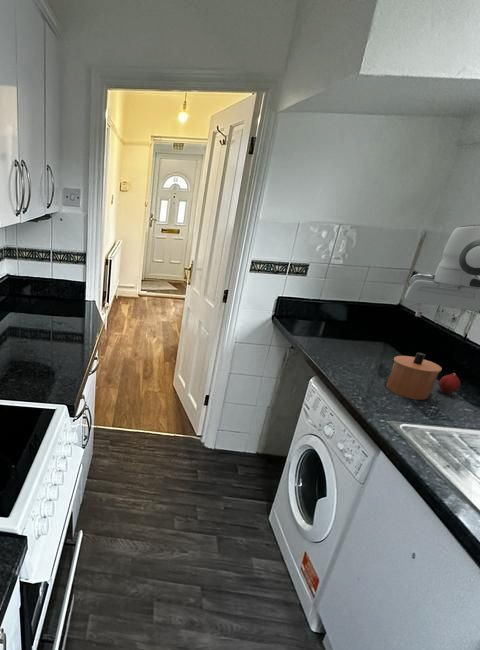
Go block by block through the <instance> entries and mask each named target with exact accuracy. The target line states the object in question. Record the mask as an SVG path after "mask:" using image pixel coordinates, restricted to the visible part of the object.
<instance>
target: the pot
mask: <svg viewBox="0 0 480 650" xmlns="http://www.w3.org/2000/svg"><path fill="white" fill-rule="evenodd" d="M439 374H440V372H437V373H428V372H421V371H416V370H412V369H409V368H406V367H403V366H401V365H399V364H397V363H396V362H395V361H394V362H393V365H392V368H391V371H390V373H389V375H388V379H387V381H386V385H385V387H386V389H388V390H389V391H390V392H392V393H394V394H395V395H398V396H401V397H404V398H406V399H411V400H418V401H419V400H421V401H422V400H427V399H428V398H429V397H430V395H431V392H432V389H433V388H434V385H435V382H436V380H437V378H438V375H439Z"/></svg>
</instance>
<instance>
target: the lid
mask: <svg viewBox="0 0 480 650" xmlns="http://www.w3.org/2000/svg"><path fill="white" fill-rule="evenodd" d="M425 357H426V354H425V353H423V352H416V354H415V356H409V355H397V356H395V357H393V361H394V362H396V363H397V364H399V365H401V366H403V367H406V368H409V369H412V370H416V371H421V372H428V373H437V372H439V373H441V371H442V369H443V368H442V366H440V365H439V364H437V363H436V362H433V361H430V360H427V359H425Z"/></svg>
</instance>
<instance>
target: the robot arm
mask: <svg viewBox="0 0 480 650" xmlns="http://www.w3.org/2000/svg"><path fill="white" fill-rule="evenodd" d="M443 249H444V250H443V252H442V258H441V260H440V262H439V263H438V265H437V268H436V270H435V273H434V274H423V273H417V274H414V275H412V276H411V277H410V278H409V281H408V285H409V286H408V288H407V290H406V293H405V294H404V299H405V301H406V302H409V303H414V306H415V307H414V308H415V309H416V312H415V314H414V315H415V317H418V318H421V317H422V314H423V310H420V308H419V307H421V306H422V304H423V305H429V306H437V307H443V308H450V309H456V310H458V313H456V314H455V315H450V319H449V322H450V323H457V321H458V319H459V318H461V317H462V316H464V315H465V313H466V311H469V312H480V277H479V276H480V224H465V225H460V226H458V227H456V228H455V229H454V230H453V231H452V232H451V235H450V236H449V238H448V240H447V242H446V244H445V246H444V248H443Z"/></svg>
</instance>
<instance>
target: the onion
mask: <svg viewBox="0 0 480 650" xmlns="http://www.w3.org/2000/svg"><path fill="white" fill-rule="evenodd" d="M438 387H439V388H440V389H441V391H442V393H443V394H450V393H455V392H456V391H458V390H459V389H460V387H461V380H460V379H459V377H458V376H457V374H456V373H455V372H453V373H451V374H446V375H444V376H442V377H441V378H440V379H439V381H438Z"/></svg>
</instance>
